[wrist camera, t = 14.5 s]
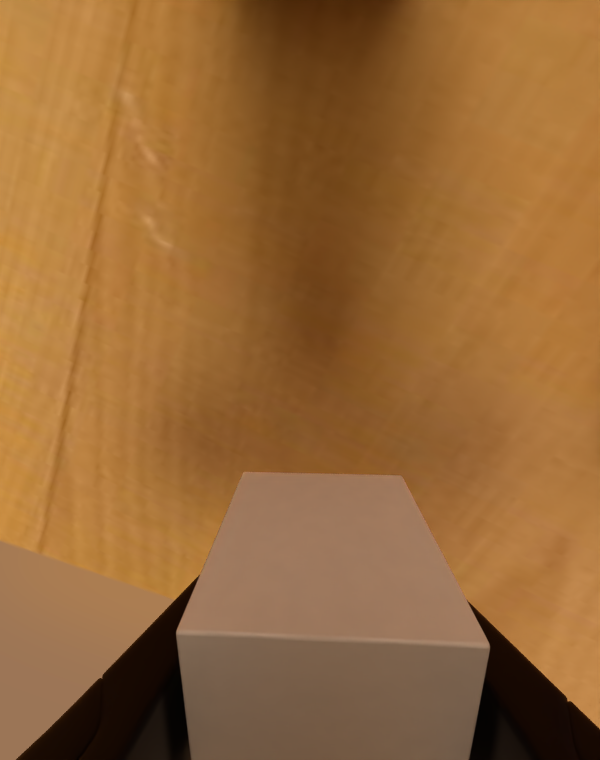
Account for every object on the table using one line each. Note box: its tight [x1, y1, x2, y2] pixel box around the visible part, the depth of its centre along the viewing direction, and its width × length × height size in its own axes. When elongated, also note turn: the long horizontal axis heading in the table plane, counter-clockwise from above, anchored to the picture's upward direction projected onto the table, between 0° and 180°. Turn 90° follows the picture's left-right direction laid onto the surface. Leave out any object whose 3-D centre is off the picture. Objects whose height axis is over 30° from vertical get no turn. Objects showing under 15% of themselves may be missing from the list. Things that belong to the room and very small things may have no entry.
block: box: [176, 472, 490, 760], centre depth 7 cm, size 4×4×4 cm
